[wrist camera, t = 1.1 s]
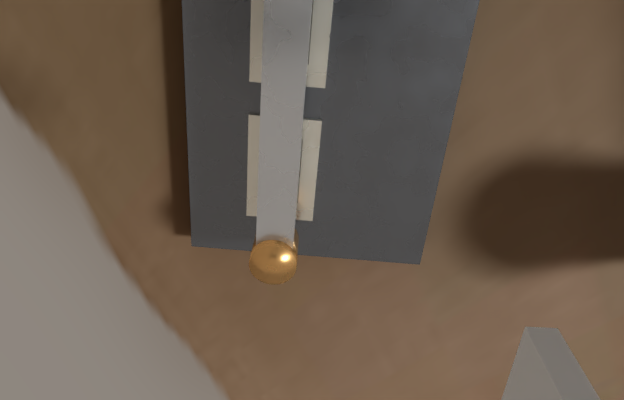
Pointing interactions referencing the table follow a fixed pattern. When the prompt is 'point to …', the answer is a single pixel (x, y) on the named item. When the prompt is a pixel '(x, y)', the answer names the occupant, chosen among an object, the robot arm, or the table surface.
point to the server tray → (328, 122)
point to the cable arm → (280, 137)
